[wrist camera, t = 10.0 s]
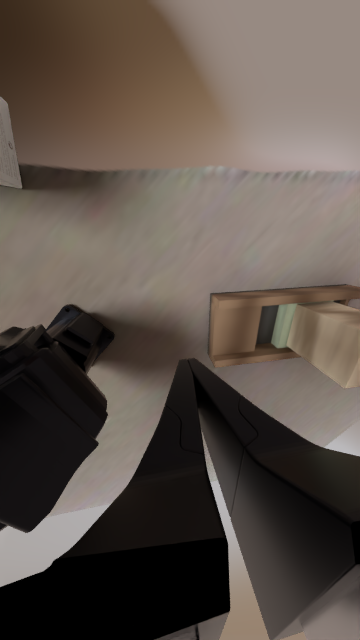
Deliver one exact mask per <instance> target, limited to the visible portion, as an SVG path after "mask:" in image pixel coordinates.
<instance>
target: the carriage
mask: <svg viewBox="0 0 360 640" xmlns="http://www.w3.org/2000/svg"><path fill="white" fill-rule="evenodd" d="M286 346H288V347H289V348H291V349H292V350H293V351H295V352H296V353H297V354H299V355H300V356H301V357H303V358H304V359H305V360H307V361H308V362H309V363H311V364H312V365H313V366H315V367H316V368H317V369H319V370H320V371H322V372H323V373H324V374H326V375H327V376H328V377H330V378H331V379H332V380H334V381H335V382H336V383H338V384H339V385H340V386H342V387H343V388H344V389H346V388H353V387H359V386H360V310H358V309H355V308H352V307H348V306H345V305H342V304H339V303H335V302H332V301H330V302H318V303H305V304H297V305H296V309H295V313H294V317H293V321H292V325H291V328H290V332H289V336H288V340H287V344H286Z"/></svg>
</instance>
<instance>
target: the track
mask: <svg viewBox="0 0 360 640" xmlns="http://www.w3.org/2000/svg"><path fill="white" fill-rule="evenodd" d="M358 298H360V287H356V286H351V285H346V284H345V285H330V286H315V287H300V288H285V289H270V290H256V291H241V292H226V293H211V294H210V315H209V338H208V355H209V357H210V359H211V361H212V363H213V364H214V366H215V367H223V366H231V365H240V364H248V363H256V362H264V361H272V360H281V359H289V358H297V357H301V356H300V355H299V354H297V353H296V352H295V351H293V350H292V349H291V348H289V347H288V346H286V344H287V340H288V336H289V332H290V328H291V325H292V321H293V317H294V313H295V309H296V305H297V304H305V303H318V302H330V301H332V302H335V303H339V304H342V305H345V306H347V305H348V302H349V300H350V299H358Z"/></svg>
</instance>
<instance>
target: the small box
mask: <svg viewBox="0 0 360 640" xmlns="http://www.w3.org/2000/svg"><path fill="white" fill-rule="evenodd" d="M0 185H4V186H10V187H15V188H19V189H22V183H21V177H20V171H19V166H18V160H17V154H16V149H15V144H14V138H13V132H12V126H11V120H10V115H9V109H8V104H7V102H6V101H5V100H4V99H3V98H1V97H0Z"/></svg>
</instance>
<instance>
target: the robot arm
mask: <svg viewBox="0 0 360 640" xmlns="http://www.w3.org/2000/svg"><path fill="white" fill-rule="evenodd" d="M66 308H69V309H70V311H68V310H67V309H66ZM109 335H111V336H112V337H109ZM114 337H115V334H114V333H113V332H111V331H110V330H108V329H107V328H105V327H104V326H103V325H102V324H101V323H99V322H98V321H96V320H95V319H93V318H92V317H90V316H89V315H87V314H86V313H82V312H80V311H79V310H77V309H76V308H74V307H73V306H71V305H65V306H64V307H63V308H62V309H61V310H60V312H59V313H58V314H57V316H56V317H55V318H54V320H53V321H52V322H51V324H50V325H49V326H48V328H47V329H45V328H44V326H43V325H42V324H40V325H38V326H36V327H34V326H32V327H30V328H27V329H26V328H25V329H22V328H18V327H11V328H9V329H7V330H5V331H3V332H2V333H0V531H1V530H3V529H4V528H5V527H7V526H11V527H13V528H15V529H18V530H20V531H23V532H25V533H28V532H30V531H32V530H33V529H34V528H35V527H36V526H37V525H38V524H39V523H40V522H41V521H42V520H43V519H44V518H45V517H46V516H47V515H48V514H49V513H50V512H51V510H52V509H53V507H54V506H55V504H56V502H57V501H58V499H59V497H60V496H61V494H62V492H63V490H64V489H65V487H66V485H67V484H68V482H69V481H70V479H71V477H72V476H73V474H74V473H75V471H76V470H77V469H78V468H79V466H80V465H81V464H82V462H83V461H84V460H85V459H86V458H87V457H88V456H89V455H90V454H91V453H92V452H93V451H94V450H95V449H96V447H97V446H98V444H99V443H98V442H97V441H96V440H95V439H96V438H97V436H98V434H99V433H100V431H101V429H102V428H103V426H104V424H105V421H106V419H107V416H108V413H107V412H106V409H107V400H106V397H105V395H104V394H103V393H102V392H101V391H100V390H99V388H98V387H97V386H96V385H95V384H94V383H93V382H92V380H91V379H90V378H89V377H88V376H87V373H88V372H89V370H90V368H91V366H92V364H93V362H94V361H95V360H96V359H97V357H98V356H99V355H100V354H101V353H102V352H103V351H104V349H105V348H106V347H107V346H108V345H109V344H110V343H111V341H112V340H113V339H114ZM201 429H202V432H203V435H204V438H205V441H206V444H207V447H208V450H209V453H210V457H211V460H212V463H213V466H214V469H215V472H216V475H217V478H218V481H219V484H220V487H221V491H222V493H223V497H224V500H225V503H226V506H227V509H228V512H229V515H230V517H231V522H232V525H233V528H234V531H235V534H236V537H237V540H238V543H239V546H240V550H241V553H242V555H243V559H244V562H245V565H246V568H247V571H248V574H249V577H250V580H251V583H252V587H253V589H254V593H255V596H256V599H257V602H258V605H259V608H260V611H261V614H262V618H263V621H264V623H265V626H266V629H267V633H268V636H269V639H270V640H279V639H281V638H285V637H288V636H291V635H294V634H297V633H300V632H303V631H304V633H305V636H306V639H307V640H360V457H359V456H355V455H351V454H346V453H342V452H337V451H334V450H329V449H326V448H323V447H320V446H318V445H315V444H313V443H311V442H309V441H308V440H306V439H304V438H303V437H301V436H300V435H298V434H297V433H295V432H294V431H292V430H290V429H289V428H287V427H286V426H284V425H283V424H281V423H280V422H278V421H277V420H275V419H274V418H272V417H271V416H269V415H268V414H266V413H265V412H264V411H262V410H261V409H259V408H258V407H256V406H255V405H254V404H252V403H251V402H250V401H248V400H247V399H246V398H245V397H243V396H242V395H241V394H240V393H238V392H237V391H236V390H234V389H233V388H232V387H231V386H229V385H228V384H227V383H226V382H224V381H223V380H222V379H221V378H219V377H218V376H217V375H216V374H214V373H213V372H212V371H211V370H209V369H208V368H207V367H205V366H204V365H203V364H202V363H200V362H199V361H198V360H197V359H195V358H191V359H188V360H187V359H182V360H179V363H178V366H177V369H176V372H175V375H174V379H173V382H172V385H171V388H170V391H169V394H168V397H167V400H166V403H165V407H164V409H163V412H162V415H161V418H160V421H159V423H158V426H157V428H156V430H155V432H154V435H153V437H152V439H151V441H150V443H149V445H148V447H147V449H146V451H145V453H144V455H143V457H142V460H141V462H140V464H139V466H138V468H137V470H136V472H135V474H134V475H133V477H132V479H131V480H130V482H129V484H128V485H127V486H126V488H125V489H124V490H123V491H122V493H121V494H120V495H119V496H118V497H117V498H116V499H115V500H114V502H113V503H112V504H111V505H110V506H109V507H108V508H107V509H106V511H105V512H104V513H103V514H102V515H101V516H100V517H99V518H98V520H97V521H96V522H95V523H94V524H93V525H92V526H91V527H90V529H89V530H88V531H87V532H86V533H85V534H84V535H83V536H82V538H81V539H80V540H79V541H78V542H77V543H76V544H75V545H74V546H73V547H72V548H71V549H70V550H69V551H67V552H66V553H64V554H63V555H62V556H60V557H59V558H57V559H56V560H54V561H53V563H52V565H51V566H50V567H48V568H47V569H46V570H45V571H43V572H40V573H37V574H35V575H32V576H29V577H27V578H24V579H21V580H18V581H16V582H13V583H10V584H7V585H5V586H2V587H0V640H219V638H220V636H221V633H222V630H223V628H224V625H225V622H226V619H227V617H228V614H229V611H230V591H229V590H230V589H229V562H228V542H227V538H226V535H225V531H224V528H223V525H222V521H221V518H220V514H219V511H218V507H217V504H216V501H215V497H214V493H213V490H212V487H211V483H210V480H209V476H208V472H207V467H206V461H205V454H204V447H203V440H202V433H201Z"/></svg>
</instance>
